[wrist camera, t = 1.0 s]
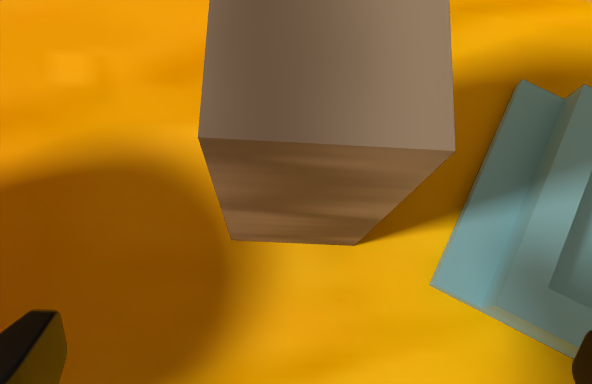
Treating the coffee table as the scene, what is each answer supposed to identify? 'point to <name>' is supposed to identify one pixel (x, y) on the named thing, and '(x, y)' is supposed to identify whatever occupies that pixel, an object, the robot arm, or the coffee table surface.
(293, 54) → the block
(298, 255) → the coffee table surface
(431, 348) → the coffee table surface
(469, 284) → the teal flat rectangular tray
